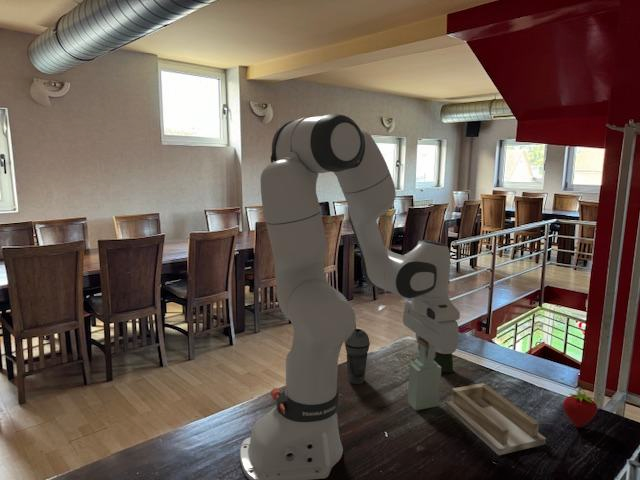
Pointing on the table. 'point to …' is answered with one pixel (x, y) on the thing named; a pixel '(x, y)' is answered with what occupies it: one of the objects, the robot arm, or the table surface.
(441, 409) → the table surface
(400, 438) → the table surface
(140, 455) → the table surface
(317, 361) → the robot arm
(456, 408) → the u rest
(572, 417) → the strawberry
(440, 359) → the character mug
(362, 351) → the beverage cup
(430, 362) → the pale green flat bottle
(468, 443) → the table surface
